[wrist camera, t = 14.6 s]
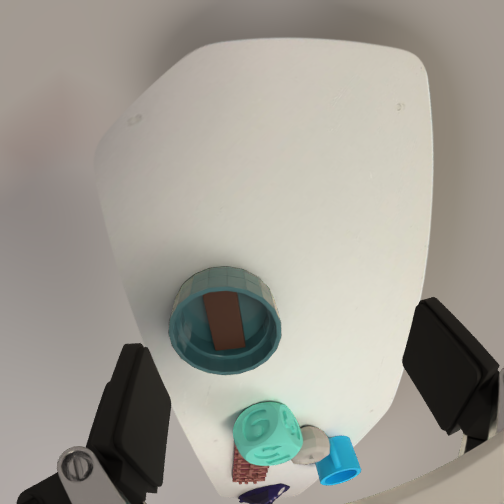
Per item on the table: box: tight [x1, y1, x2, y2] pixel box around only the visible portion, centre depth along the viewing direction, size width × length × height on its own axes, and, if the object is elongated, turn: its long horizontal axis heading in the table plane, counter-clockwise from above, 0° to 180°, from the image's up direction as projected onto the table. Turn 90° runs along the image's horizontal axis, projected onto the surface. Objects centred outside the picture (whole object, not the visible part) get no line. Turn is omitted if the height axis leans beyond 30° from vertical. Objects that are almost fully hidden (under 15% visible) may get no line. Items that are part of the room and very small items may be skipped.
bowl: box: [168, 266, 281, 375], centre depth 32 cm, size 12×12×5 cm
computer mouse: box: [239, 484, 290, 504], centre depth 55 cm, size 9×15×4 cm, turn 126°
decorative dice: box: [233, 402, 303, 466], centre depth 39 cm, size 8×8×8 cm
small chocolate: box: [202, 291, 246, 351], centre depth 33 cm, size 8×4×2 cm, turn 7°
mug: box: [315, 436, 361, 485], centre depth 45 cm, size 12×8×8 cm
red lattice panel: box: [233, 445, 269, 484], centre depth 48 cm, size 7×19×2 cm, turn 176°
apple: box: [291, 426, 330, 465], centre depth 42 cm, size 8×8×7 cm
